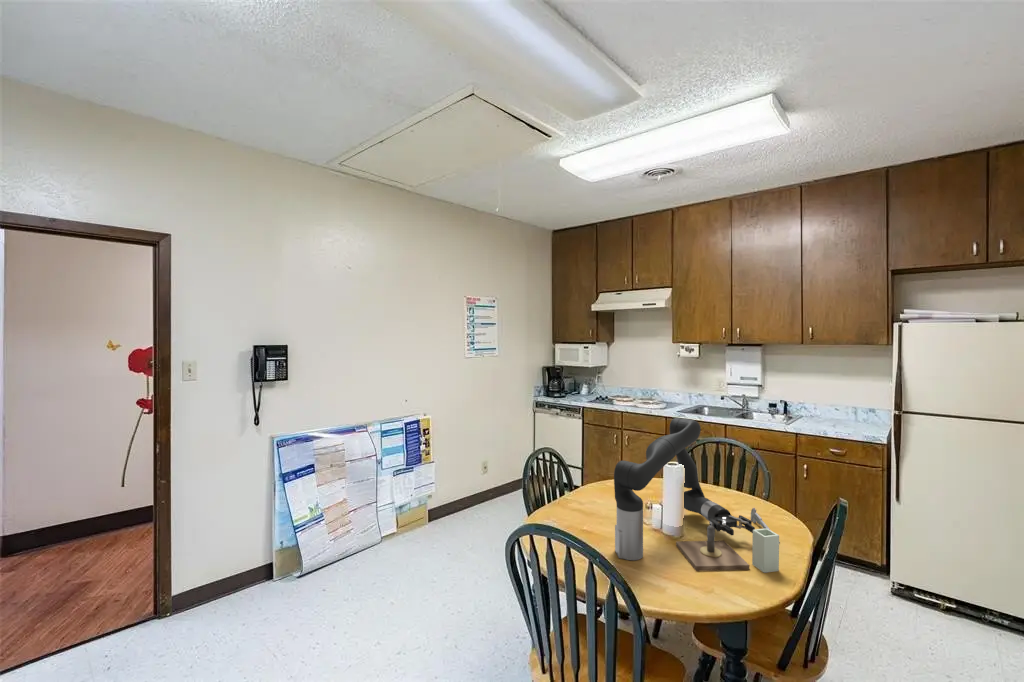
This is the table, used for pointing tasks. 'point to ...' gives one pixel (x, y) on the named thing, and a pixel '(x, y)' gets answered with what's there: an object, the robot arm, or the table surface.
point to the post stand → (711, 554)
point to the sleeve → (765, 550)
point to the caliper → (757, 519)
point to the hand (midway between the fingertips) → (743, 531)
